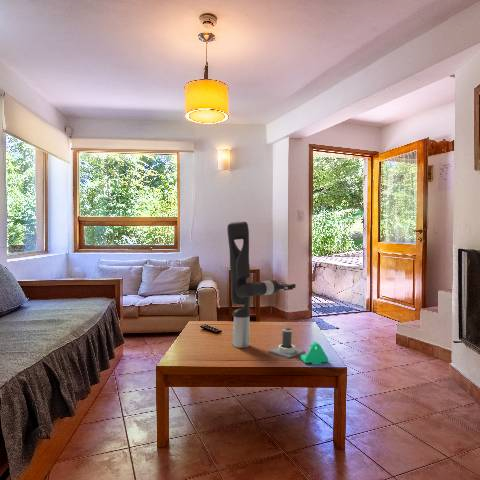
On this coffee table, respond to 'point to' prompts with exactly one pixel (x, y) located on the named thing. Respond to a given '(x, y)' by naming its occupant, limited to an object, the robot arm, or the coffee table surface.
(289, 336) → the lens
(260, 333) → the coffee table surface
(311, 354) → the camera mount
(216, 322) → the coffee table surface
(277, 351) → the mount plate
